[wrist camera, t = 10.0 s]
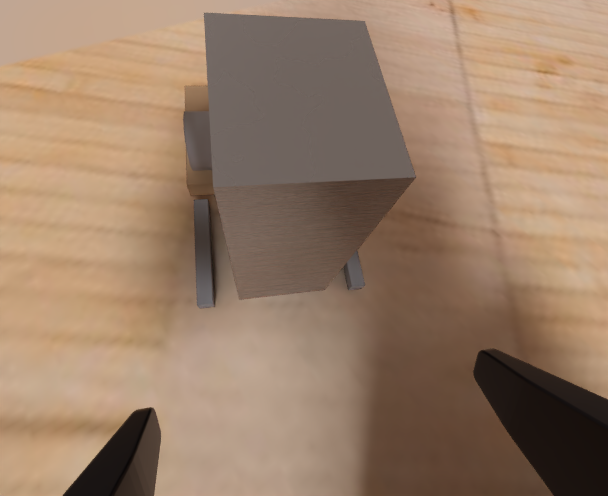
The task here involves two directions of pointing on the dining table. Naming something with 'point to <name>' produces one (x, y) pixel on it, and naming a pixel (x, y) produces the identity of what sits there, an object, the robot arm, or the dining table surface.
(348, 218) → the grey rectangular block
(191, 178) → the oak hinge leaf
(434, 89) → the dining table surface
